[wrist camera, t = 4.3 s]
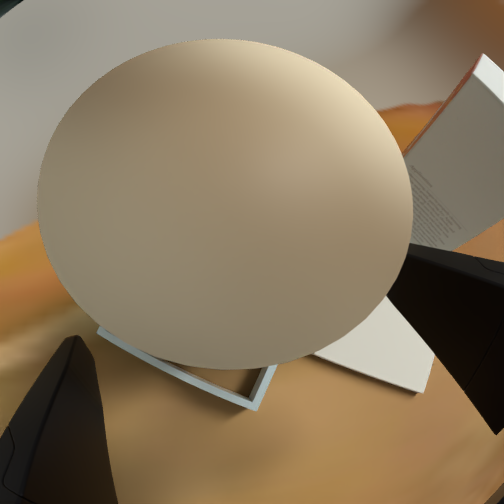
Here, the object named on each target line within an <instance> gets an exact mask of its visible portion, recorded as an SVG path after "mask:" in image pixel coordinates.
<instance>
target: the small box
mask: <svg viewBox="0 0 504 504" xmlns="http://www.w3.org/2000/svg"><path fill="white" fill-rule="evenodd" d="M402 156H403V159H404V162H405V165H406V168H407V171H408V175H409V179H410V185H411V190H412V199H413V222H412V232H411V239H410V243H413V244H418V245H423V246H428V247H433V248H438V249H443V250H447V251H453V250H454V249H456V248H458V247H459V246H461V245H463V244H464V243H466V242H467V241H469V240H471V239H472V238H474V237H476V236H477V235H479V234H480V233H482V232H483V231H485V230H487V229H488V228H490V227H491V226H493V225H494V224H496V223H497V222H499V221H500V220H502V219H503V218H504V72H503V71H502V70H501V69H500V68H499V67H498V66H497V65H496V64H495V63H494V62H493V61H491V60H490V59H489V58H488V57H487V56H486V55H485V54H483V53H482V54H481V55H480V56H479V58H478V59H477V60H476V61H475V63H474V64H473V66H472V67H471V68H470V69H469V71H468V72H467V73H466V75H465V76H464V77H463V79H462V80H461V81H460V82H459V84H458V85H457V86H456V88H455V89H454V90H453V92H452V93H451V94H450V95H449V97H448V98H447V99H446V100H445V102H444V103H443V104H442V106H441V107H440V108H439V109H438V111H437V112H436V113H435V114H434V116H433V117H432V118H431V119H430V120H429V122H428V123H427V124H426V125H425V127H424V128H423V129H422V130H421V131H420V133H419V134H418V135H417V136H416V137H415V138H414V139H413V141H412V142H411V143H410V144H409V145H408V146H407V148H406V149H405V150H404V151H403V152H402Z"/></svg>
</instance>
